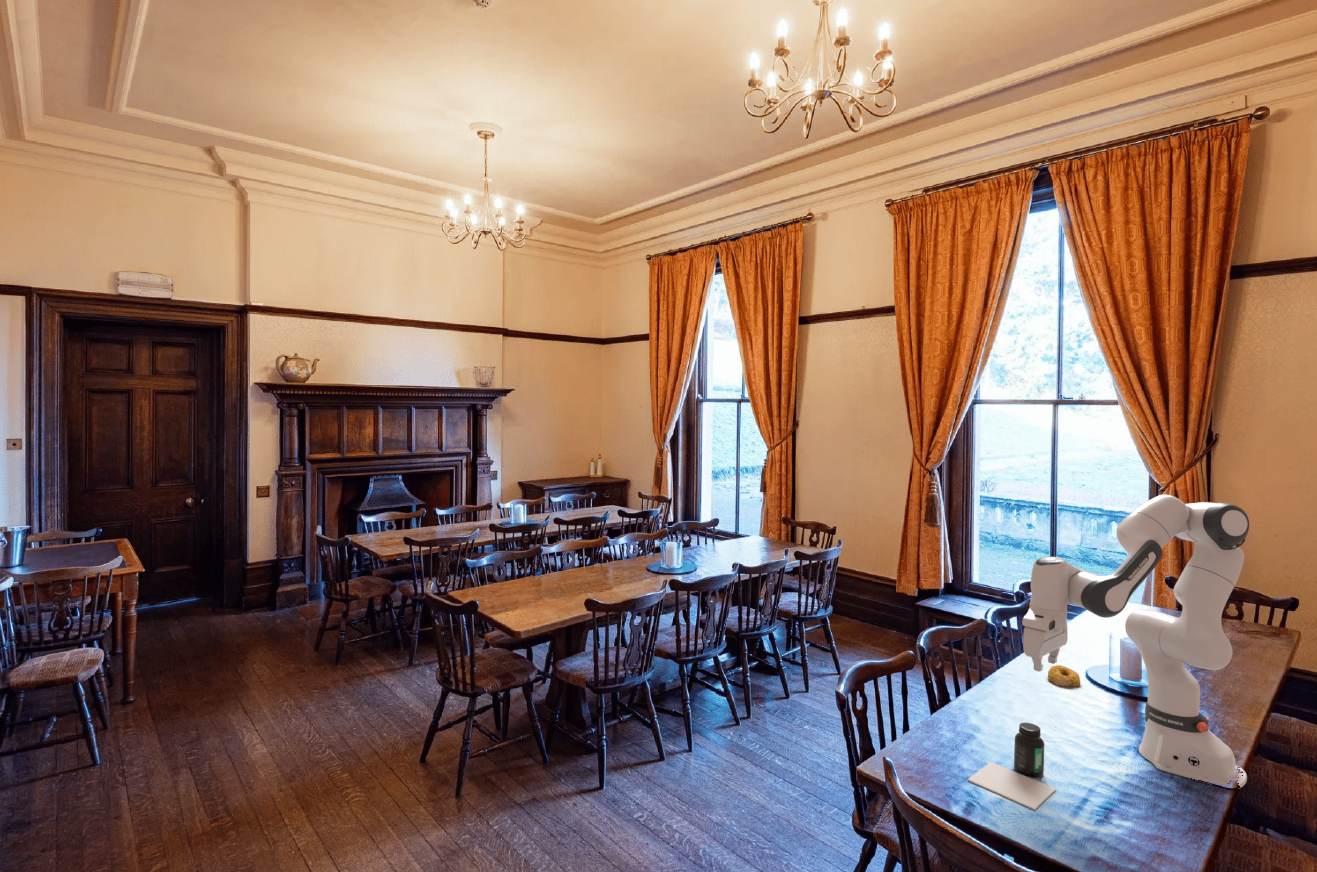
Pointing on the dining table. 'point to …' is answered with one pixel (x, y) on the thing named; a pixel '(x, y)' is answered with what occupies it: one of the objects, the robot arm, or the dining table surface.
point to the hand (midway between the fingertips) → (1045, 666)
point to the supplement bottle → (1029, 751)
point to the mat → (1012, 785)
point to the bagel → (1063, 676)
